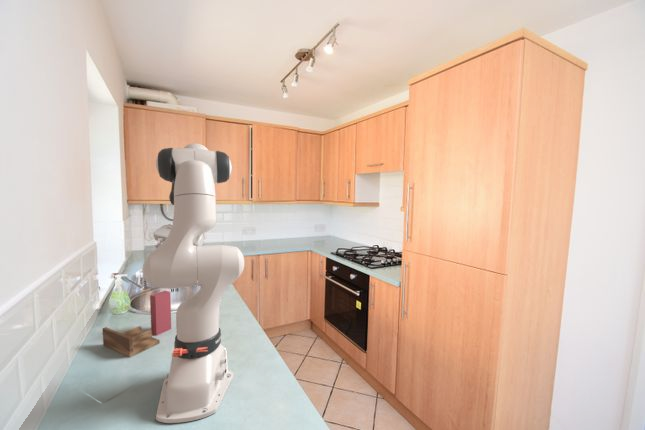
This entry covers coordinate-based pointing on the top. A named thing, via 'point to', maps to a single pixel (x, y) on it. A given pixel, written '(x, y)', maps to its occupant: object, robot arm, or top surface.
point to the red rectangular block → (160, 312)
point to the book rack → (129, 341)
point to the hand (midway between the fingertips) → (167, 249)
